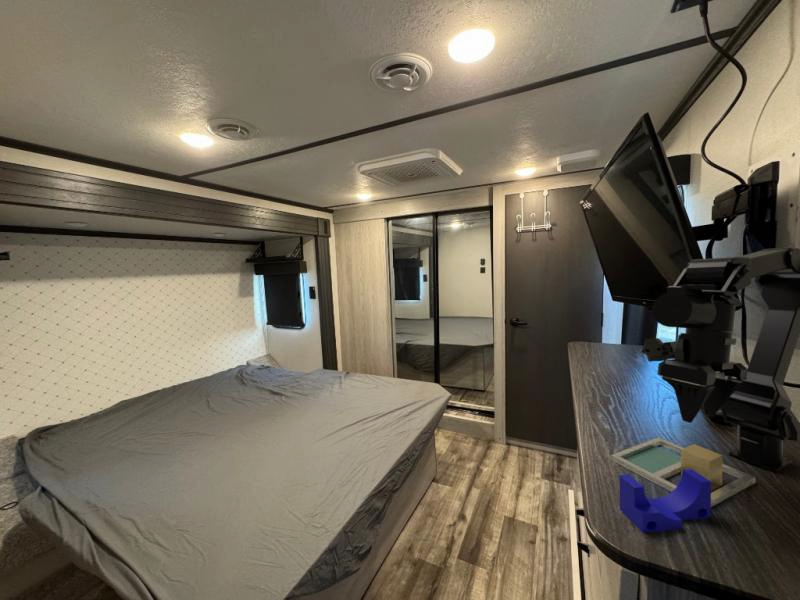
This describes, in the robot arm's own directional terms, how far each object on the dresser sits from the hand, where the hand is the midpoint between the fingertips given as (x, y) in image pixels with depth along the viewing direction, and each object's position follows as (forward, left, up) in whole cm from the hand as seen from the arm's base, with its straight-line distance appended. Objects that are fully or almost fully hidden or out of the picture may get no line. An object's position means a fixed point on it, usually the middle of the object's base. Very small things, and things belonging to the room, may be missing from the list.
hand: (698, 418), depth 53 cm
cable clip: (+13, +2, -12) cm, 18 cm away
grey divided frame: (-1, -4, -12) cm, 12 cm away
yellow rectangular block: (-1, 0, -12) cm, 12 cm away
